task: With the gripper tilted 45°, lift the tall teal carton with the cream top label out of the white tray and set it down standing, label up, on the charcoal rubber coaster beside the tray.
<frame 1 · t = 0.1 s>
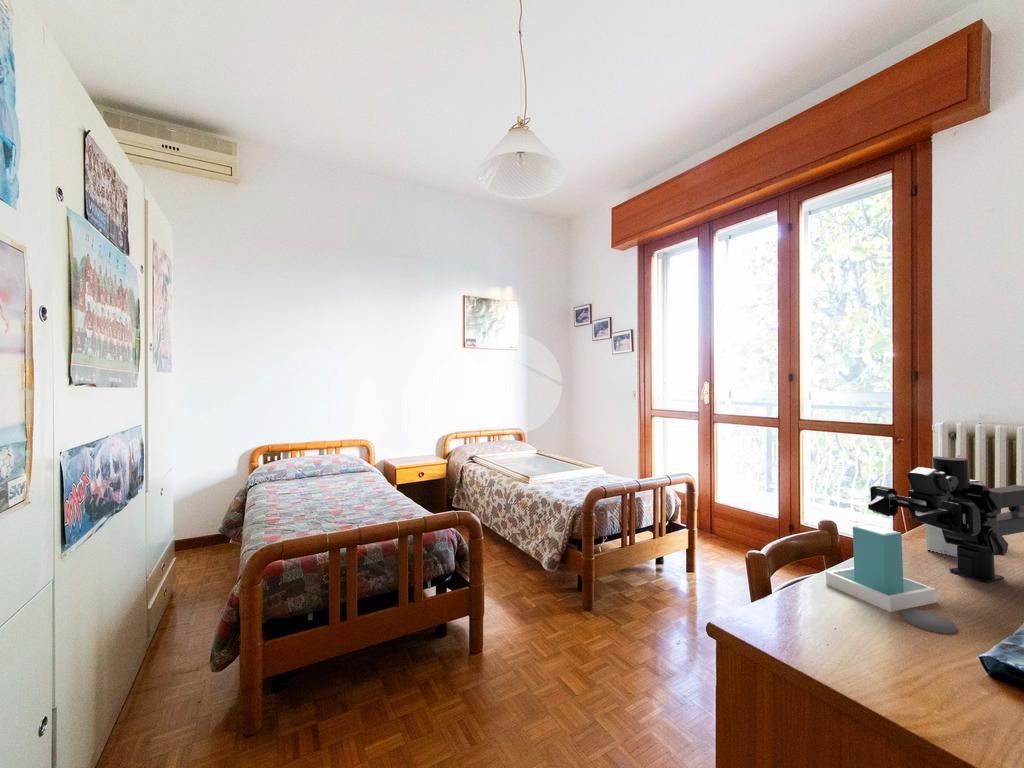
hand: (892, 512, 91), 17 cm above the table, tool horizontal, fingers open, 9 cm apart
candy bar box: (956, 534, 125), on the table
small box: (947, 551, 112), on the table
teal carton: (878, 592, 89), resting on white tray
white tray: (878, 594, 89), on the table
charcoal coaster: (928, 624, 78), on the table
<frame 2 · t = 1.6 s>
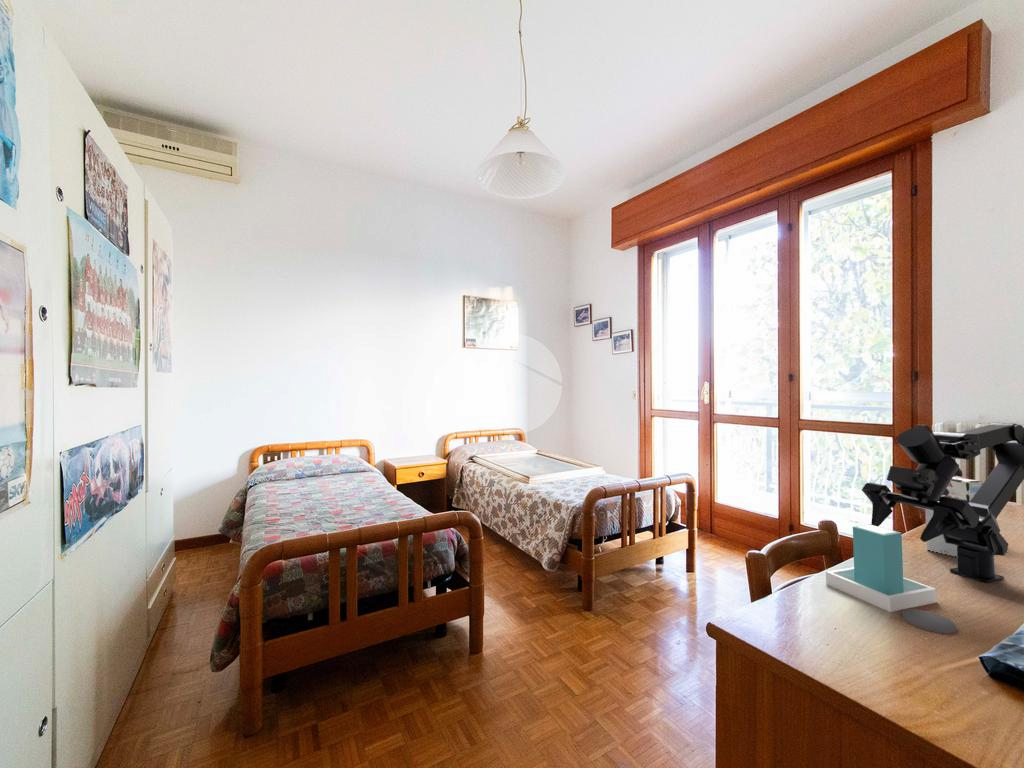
hand: (896, 533, 91), 12 cm above the table, tool tilted 45°, fingers open, 9 cm apart
nothing on the table moved.
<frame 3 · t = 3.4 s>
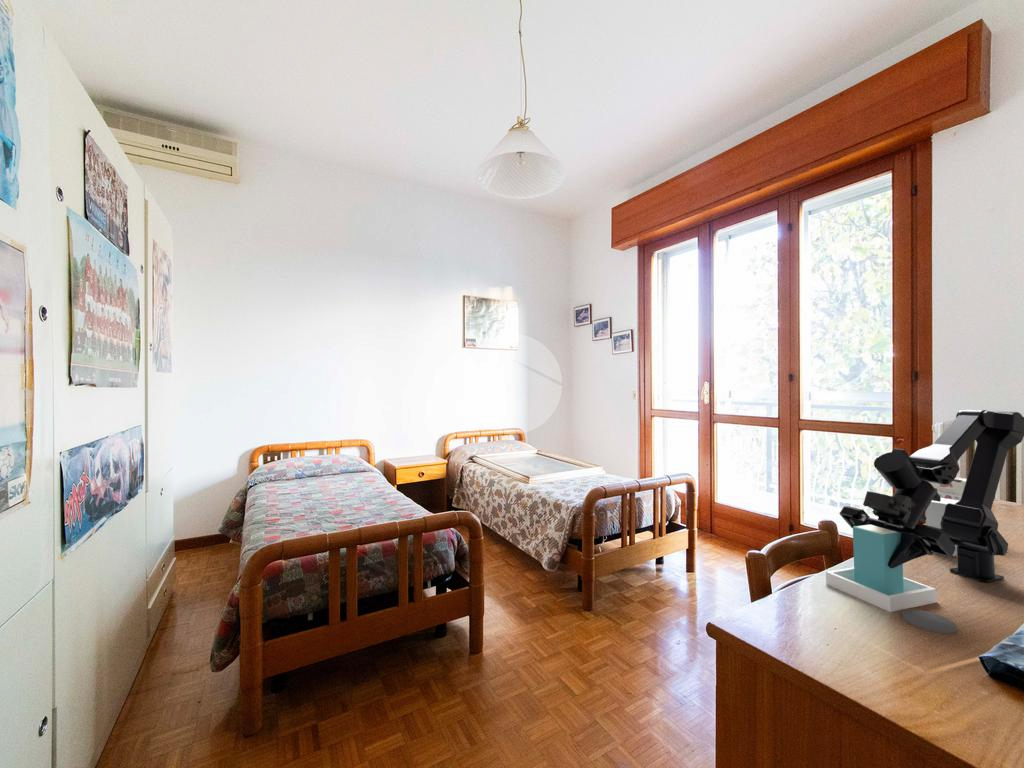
hand: (872, 560, 89), 7 cm above the table, tool tilted 45°, fingers closed on teal carton, 6 cm apart
teal carton: (878, 592, 89), resting on white tray, touching gripper
everything else where it was.
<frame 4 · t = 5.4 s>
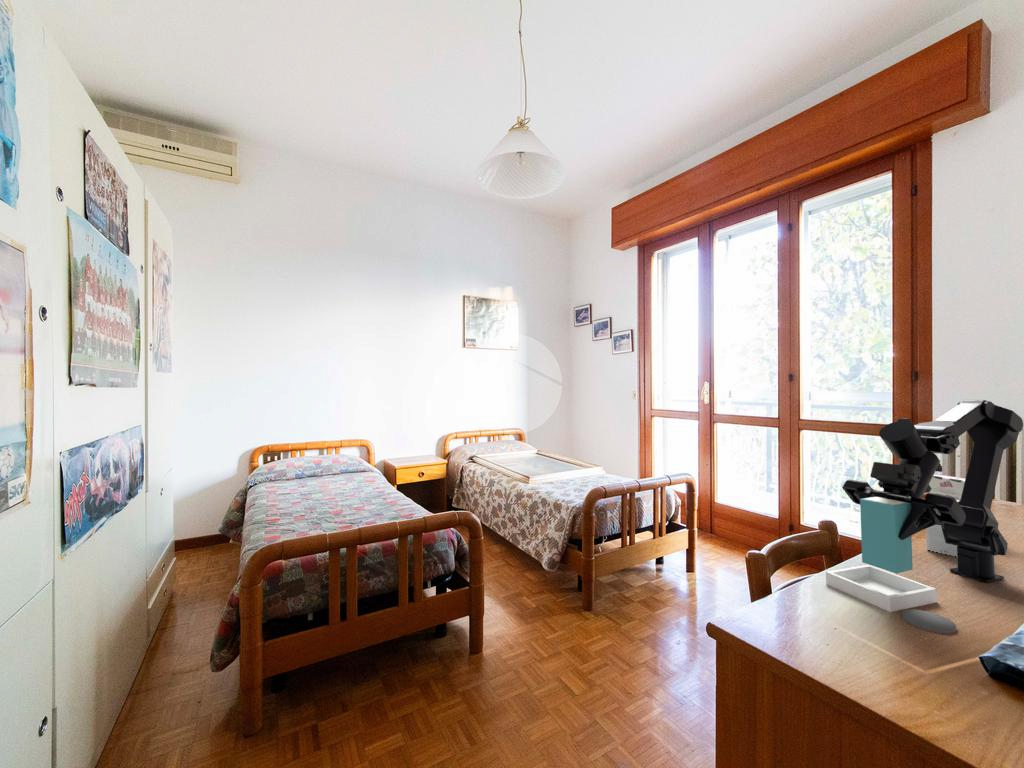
hand: (881, 533, 86), 14 cm above the table, tool tilted 45°, fingers closed on teal carton, 6 cm apart
teal carton: (886, 565, 86), point 7 cm above the table, touching gripper
everything else where it was.
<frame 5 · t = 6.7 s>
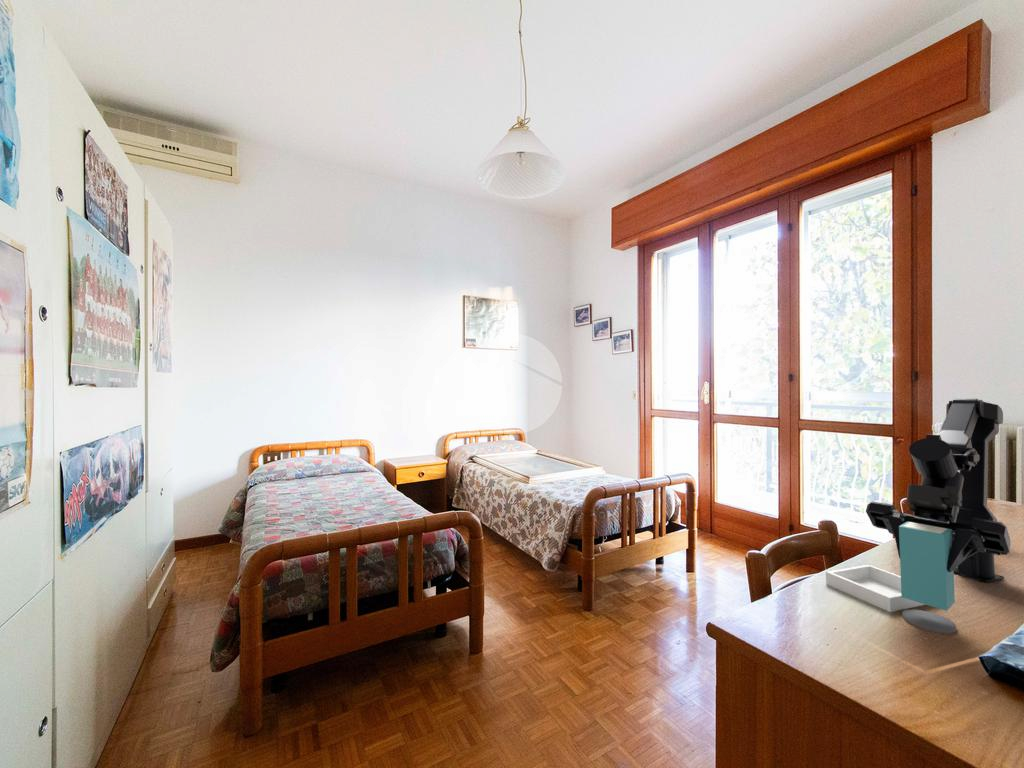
hand: (924, 564, 77), 11 cm above the table, tool tilted 45°, fingers closed on teal carton, 6 cm apart
teal carton: (927, 599, 78), point 4 cm above the table, touching gripper
everything else where it was.
when the fingers open (9 cm above the table, at t = 7.5 s): teal carton drops 2 cm, resting on charcoal coaster.
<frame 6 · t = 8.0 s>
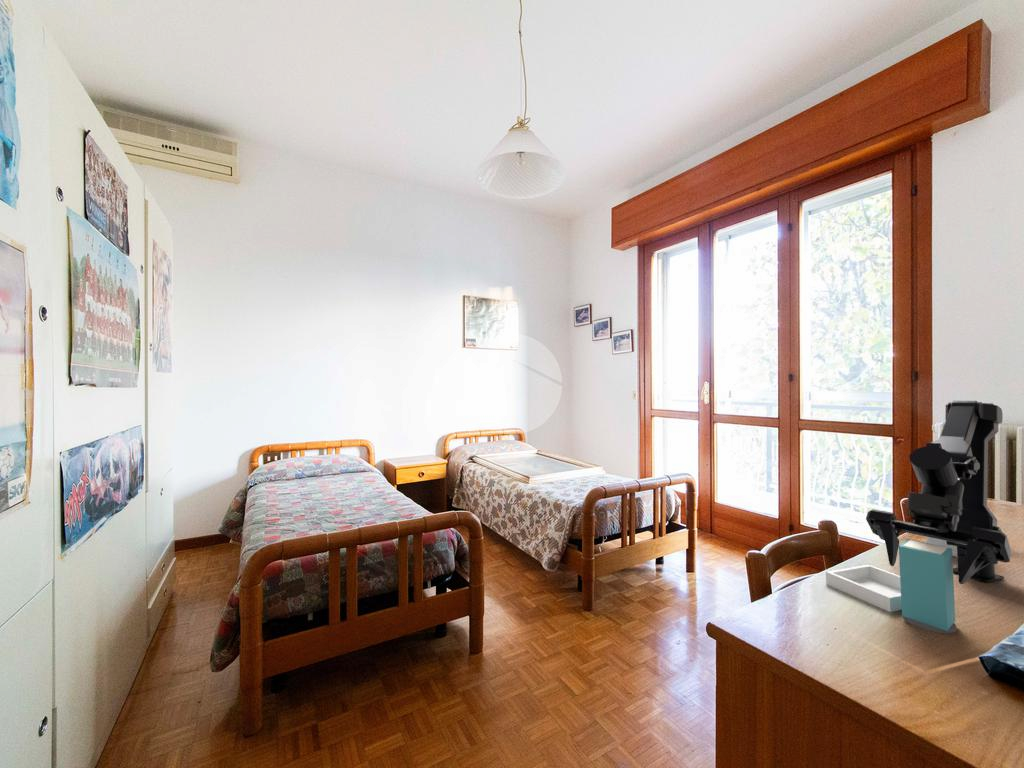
hand: (924, 573, 77), 10 cm above the table, tool tilted 45°, fingers open, 9 cm apart
teal carton: (928, 618, 78), point 1 cm above the table, touching charcoal coaster
everything else where it was.
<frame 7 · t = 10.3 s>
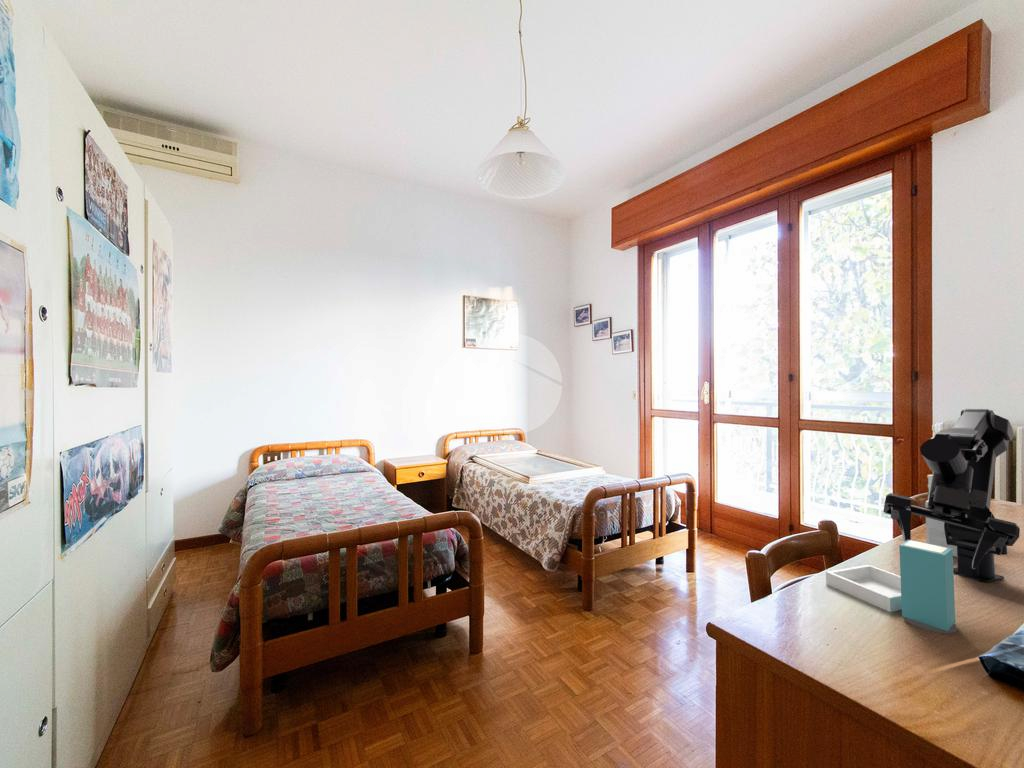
hand: (939, 558, 84), 10 cm above the table, tool tilted 35°, fingers open, 9 cm apart
nothing on the table moved.
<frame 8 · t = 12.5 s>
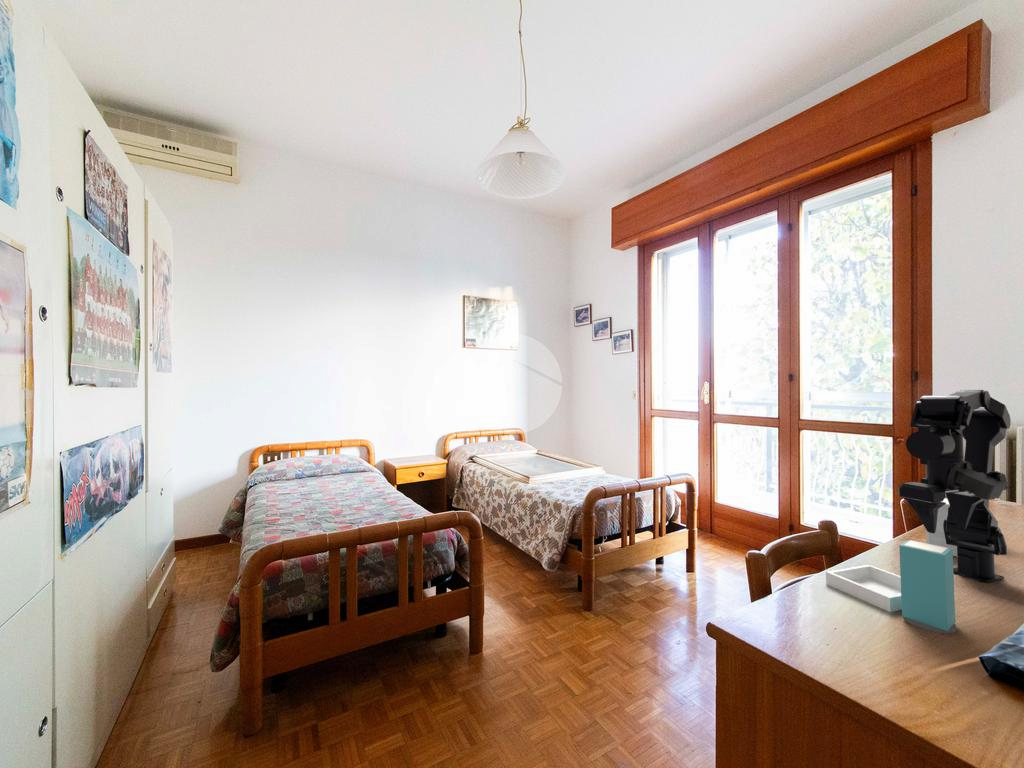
hand: (947, 530, 89), 13 cm above the table, tool pointing down, fingers open, 9 cm apart
nothing on the table moved.
at the end: teal carton 0.0 cm off-centre on the charcoal coaster, point 1.0 cm above the charcoal coaster's base; teal carton tilted 0°; the gripper is holding nothing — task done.
